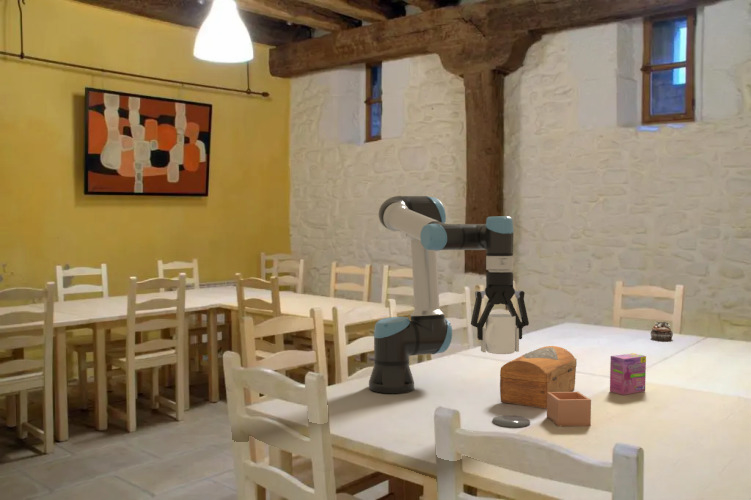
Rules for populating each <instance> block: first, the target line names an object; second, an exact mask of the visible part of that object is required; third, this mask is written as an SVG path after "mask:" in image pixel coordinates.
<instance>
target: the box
mask: <svg viewBox="0 0 751 500" xmlns="http://www.w3.org/2000/svg"><path fill="white" fill-rule="evenodd" d="M609 364H610V367H609V369H610V370H609V392H611V393H614V394H617V395H621V396H625V395H630V394H631V395H632V394H636V393H643V392H646V374H647V373H646V370H647V369H646V368H647V356H646V355H643V354H640V353H639V354H638V353H634V352H632V353H626V354H625V353H623V354H615V355H611V356H610V363H609Z"/></svg>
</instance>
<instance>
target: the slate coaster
mask: <svg viewBox="0 0 751 500" xmlns="http://www.w3.org/2000/svg"><path fill="white" fill-rule="evenodd" d="M492 423H493V424H494V425H496V426H499V427H503V428H510V429H511V428H512V429H515V428H518V429H519V428H524V427H528V426H530V425H531V420H530V419H529V418H527V417H525V416H520V415H513V414H511V415H510V414H504V415H501V414H500V415H496V416H494V417H493V418H492Z"/></svg>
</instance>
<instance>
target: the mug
mask: <svg viewBox="0 0 751 500" xmlns="http://www.w3.org/2000/svg"><path fill="white" fill-rule="evenodd" d="M516 328H517V326H516V316H514V317H512V316H511V314H507V313H490V314H489V316H488V318H487V320H486V322H485V329H486V335H485V338H486V352H487V353H488V354H492V355H493V354H494V355H511V354H514V353H515V352H516V351H515V339H516Z"/></svg>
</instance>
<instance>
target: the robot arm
mask: <svg viewBox="0 0 751 500" xmlns="http://www.w3.org/2000/svg"><path fill="white" fill-rule="evenodd" d="M378 209H379V210H378V219H379V222H380V224H381V225H382V226H383V227H384V228H386V229H387V230H390V231H391V232H402V233H403V234H405V236H406V237H407V239H409V240H410V249H411V250H410V251H411V269H412V285H413V286H412V287H413V289H412V290H413V304H414V305H413V306H414V308H413V309H414V310H413V311H412V313H411V314H410V318H409V317H407V316H392V317H385V318H381V319H379V320H378V321H376V322H375V324H374V331H373V332H374V333H373V340H374V341H373V342H374V345H373V349H374V351H373V353H374V354H373V357H374V358H373V363H374V364H373V367H372V371H371V374H370V377H369V380H368V389H369V391H372V392H376V393H380V394H381V393H383V394H402V393H403V394H404V393H408V392H411V391H414V390H415V380H414V377H413V374H412V370H411V367H410V356H423V355H424V356H425V355H436V354H442V353H444V352H446V351H447V350H448V349H449V347H450V346H451V343H452V340H453V327H452V325H451V322H450V320H448V319H446V318H445V312H443V311H442V310H441V309H440V297H439V295H440V293H439V291H440V290H439V276H438V259H437V258H438V257H437V252H438V251H455V250H456V251H464V250H465V251H469V250H470V251H483V250H484V251H485V254H486V255H485V256H486V257H485V265H486V266H485V267H486V268H485V270H486V271H487V272H486V273H485V274H486V275H485V282H486V283H485V289H484V290H476V291H475V292H474V297H475V301H474V306H473V310H472V315H471V320H470V325H471V326H472V327H475V328H476V330H477V333H476V334H477V337H476V338H477V340H479V341H480V352H482V353H486V352H487V351H486V338H485V335H486V327H485V325H486V320H487V318H488V316H489V314H491V312H492V310H493V308H494V306H495V305H505V307H506V308H507V310H508V311H509V313H510V314H509V315H511V316H512V317H514V316H516V339H515V352H517V353H518V352H520V346H519V345H520V340H522V339H523V328H524V327H526V326H529V325H530V322H529V318H528V313H527V308H526V303H525V294H526V293H525V291H523V290H515V288H514V272H513V270H514V231H515V229H514V221H513V218H512V217H511V216H503V215H502V216H497V215H496V216H488V217H486V221H485V223H465V224H464V223H446V222H447V221H446V220H447V216H446V215H447V214H446V210H445V206H444V205H443V203H442V202H441V200H440V199H438V198H437V197H434V196H427V195H425V196H421V195H415V196H414V195H413V196H412V195H411V196H410V195H409V196H408V195H395V196H391V197H389V198H388V199H386V200H384V201H383V203H382V204H381V205H380V206H379V208H378ZM514 295H515V298H516V300H517V304H518V309H519V314H520V316H519V315H518V313H517V311H516V309H515V307H514V303H513V302H512V298H514V297H513V296H514ZM485 296H486V297H487V302H486V306H485V307H484V310H483V312H482V314H481V316H480V311H481V308H482V302H483V299H484V298H485ZM479 316H480V317H479Z"/></svg>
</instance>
